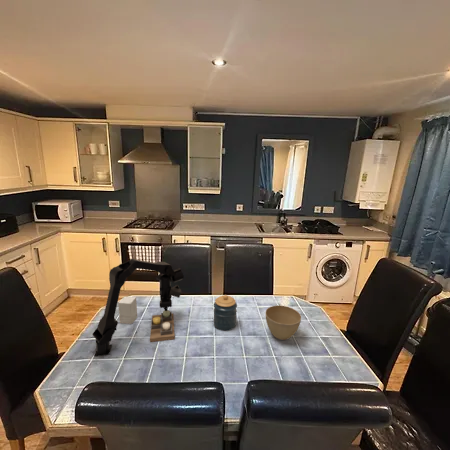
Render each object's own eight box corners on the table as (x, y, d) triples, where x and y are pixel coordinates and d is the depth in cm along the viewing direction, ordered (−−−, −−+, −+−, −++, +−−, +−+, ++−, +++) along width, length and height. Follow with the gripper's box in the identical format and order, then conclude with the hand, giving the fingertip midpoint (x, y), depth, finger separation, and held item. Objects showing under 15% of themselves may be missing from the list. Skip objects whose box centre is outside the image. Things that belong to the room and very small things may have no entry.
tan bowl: (300, 349, 123) (302, 326, 120) (263, 343, 126) (264, 321, 123) (297, 327, 140) (299, 307, 137) (265, 322, 143) (266, 303, 141)
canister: (227, 334, 133) (227, 303, 129) (208, 325, 140) (208, 296, 136) (240, 322, 143) (241, 294, 139) (222, 314, 150) (223, 287, 147)
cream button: (170, 330, 129) (170, 326, 128) (162, 331, 128) (162, 326, 128) (170, 325, 133) (169, 321, 132) (162, 326, 132) (162, 322, 131)
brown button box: (174, 339, 128) (174, 332, 127) (150, 342, 125) (149, 335, 124) (173, 316, 148) (173, 310, 147) (152, 318, 145) (152, 312, 144)
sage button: (169, 317, 140) (169, 313, 140) (162, 318, 139) (162, 313, 139) (169, 313, 144) (169, 309, 143) (163, 314, 143) (162, 310, 143)
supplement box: (137, 316, 146) (136, 297, 144) (132, 324, 139) (130, 303, 137) (125, 315, 147) (124, 296, 144) (119, 323, 140) (117, 302, 137)
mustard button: (160, 324, 134) (160, 320, 133) (153, 325, 133) (152, 321, 132) (160, 320, 137) (160, 316, 137) (153, 321, 136) (153, 317, 136)
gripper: (181, 291, 131) (181, 318, 134) (179, 277, 148) (179, 301, 152) (159, 293, 128) (160, 320, 131) (160, 278, 146) (160, 302, 149)
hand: (166, 310), depth 141 cm, fingers closed
